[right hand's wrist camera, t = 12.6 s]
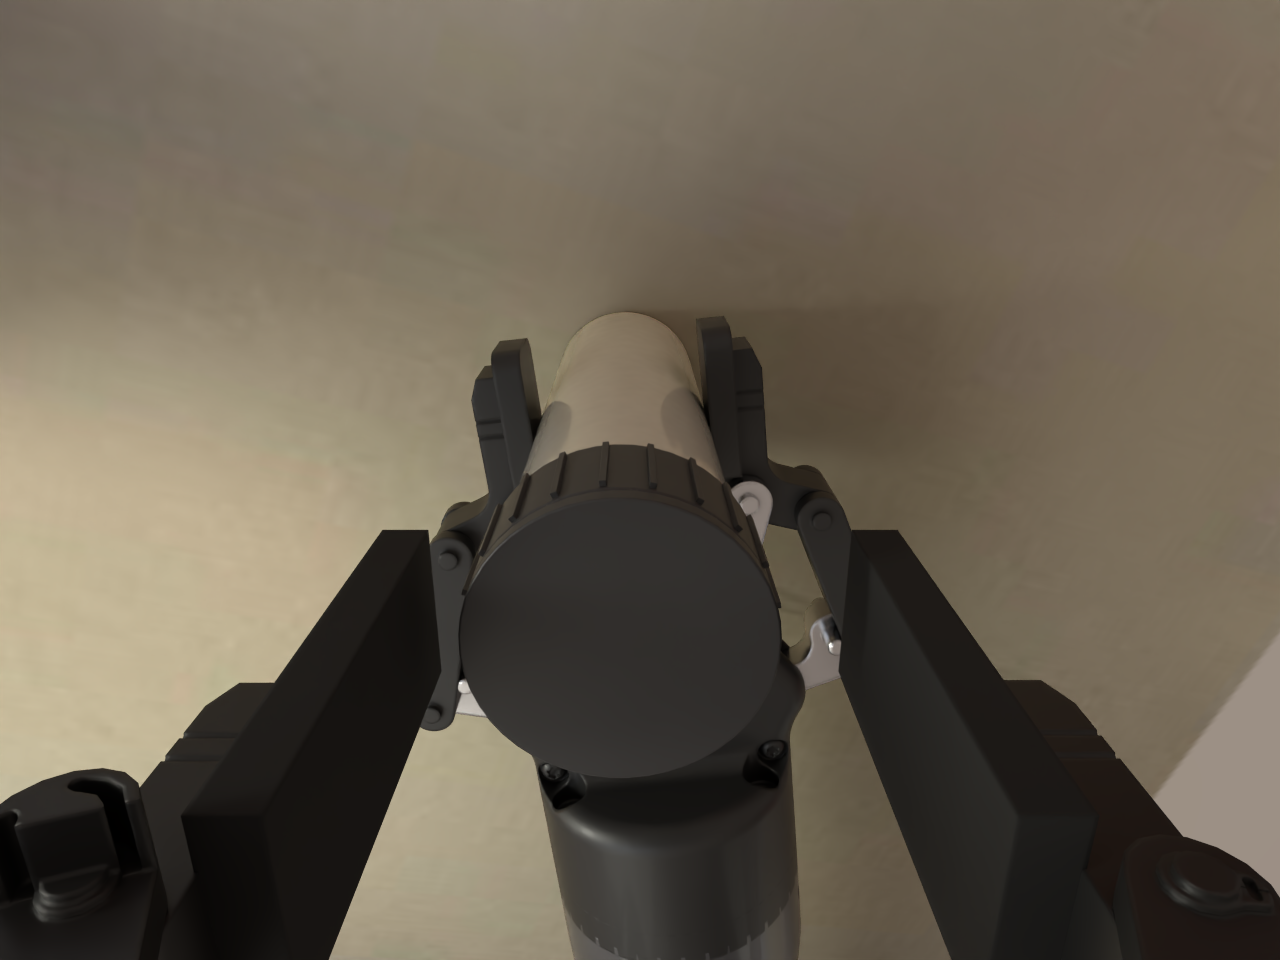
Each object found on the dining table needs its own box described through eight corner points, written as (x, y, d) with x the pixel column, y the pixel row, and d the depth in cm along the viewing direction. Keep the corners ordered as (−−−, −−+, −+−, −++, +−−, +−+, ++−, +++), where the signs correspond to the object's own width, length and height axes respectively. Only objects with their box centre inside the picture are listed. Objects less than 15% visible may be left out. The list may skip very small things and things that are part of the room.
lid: (744, 414, 14) (766, 465, 12) (778, 669, 16) (803, 758, 13) (449, 464, 14) (414, 524, 12) (516, 710, 16) (496, 803, 14)
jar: (680, 300, 27) (743, 477, 12) (700, 429, 29) (778, 727, 14) (546, 324, 27) (445, 527, 12) (573, 450, 29) (513, 767, 14)
